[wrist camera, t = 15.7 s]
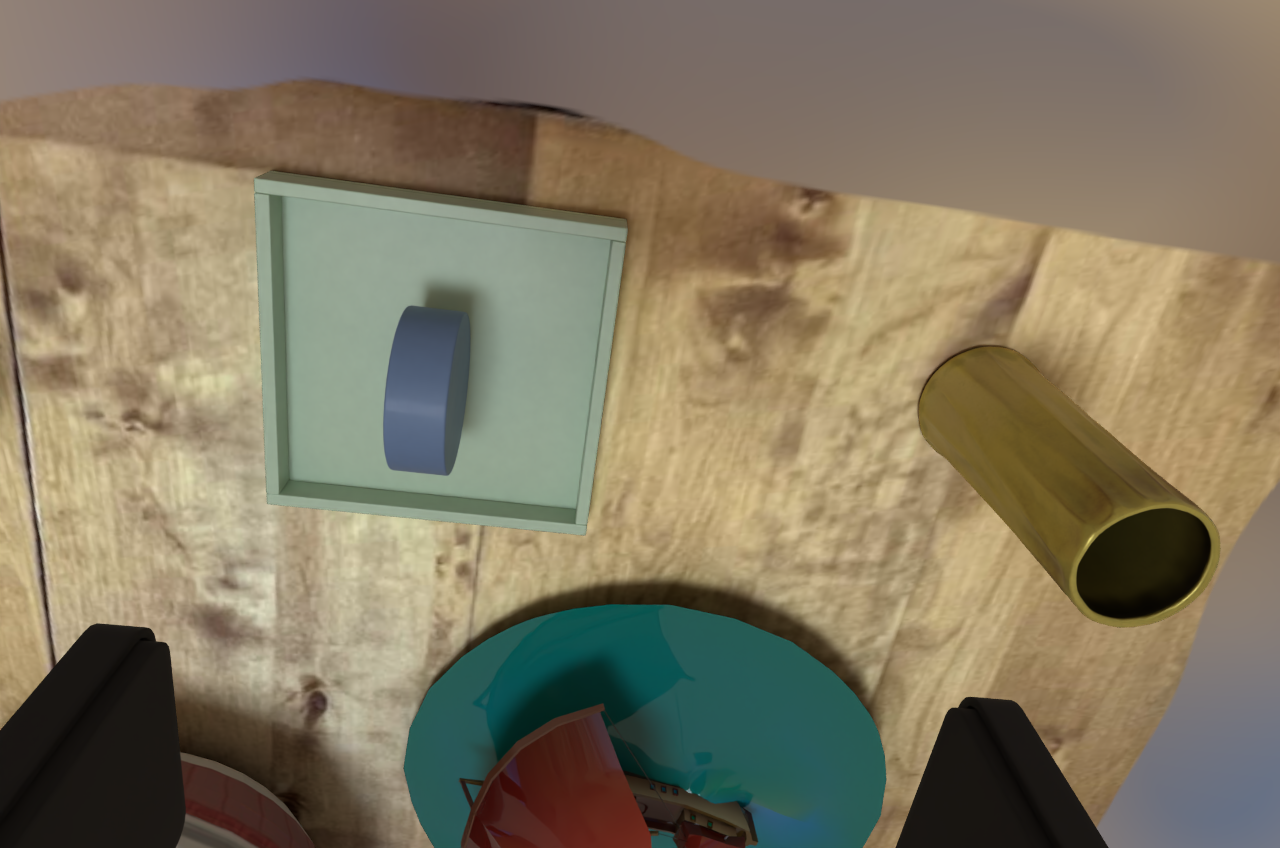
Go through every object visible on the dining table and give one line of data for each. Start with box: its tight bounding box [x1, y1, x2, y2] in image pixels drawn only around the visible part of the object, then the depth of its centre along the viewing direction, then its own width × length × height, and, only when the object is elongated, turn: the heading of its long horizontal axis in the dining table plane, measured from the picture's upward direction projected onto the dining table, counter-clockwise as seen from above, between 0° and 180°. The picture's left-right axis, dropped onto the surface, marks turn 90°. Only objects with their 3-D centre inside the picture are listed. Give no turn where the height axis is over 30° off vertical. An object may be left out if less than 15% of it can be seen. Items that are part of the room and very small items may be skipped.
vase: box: [919, 347, 1220, 627], centre depth 36 cm, size 6×6×14 cm
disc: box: [383, 305, 471, 476], centre depth 37 cm, size 7×2×7 cm, turn 172°
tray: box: [254, 171, 628, 535], centre depth 39 cm, size 15×15×2 cm
